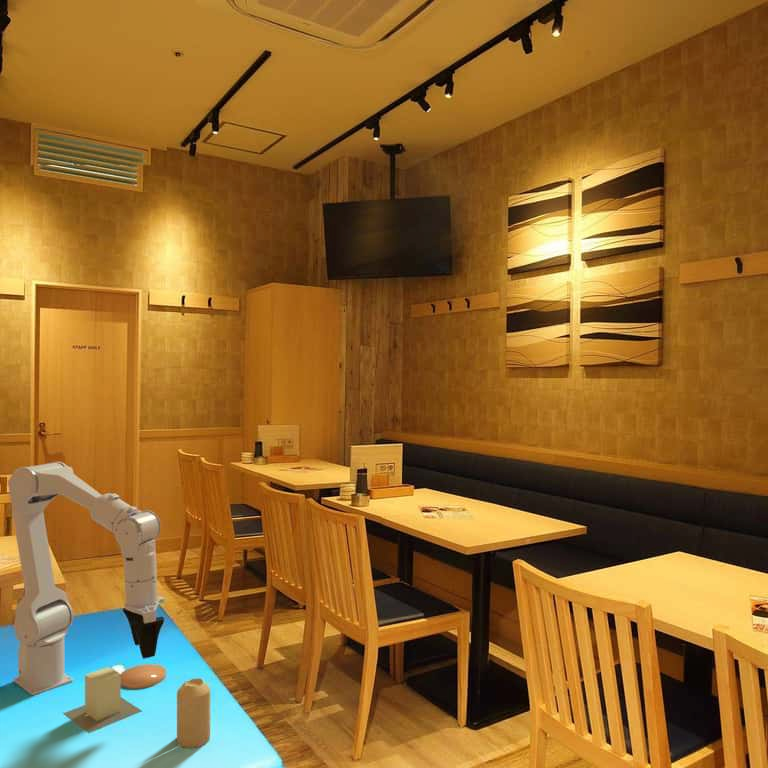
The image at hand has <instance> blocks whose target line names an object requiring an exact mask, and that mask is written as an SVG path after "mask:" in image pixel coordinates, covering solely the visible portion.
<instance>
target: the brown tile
mask: <svg viewBox="0 0 768 768" xmlns="http://www.w3.org/2000/svg"><path fill="white" fill-rule="evenodd" d="M141 712H143V710H142V709H140V708H139V707H137V706H135V704H133V703H131V702H129V701H128V700H126V699H125V698H123V697H122V696H121V711H120V712H118V713H116V714H113V715H111V716H108V717H106V718H103V719H101V720H98V721H96V720H95V719H93V718H92V717H91V716H89V715H88V714H86V713H85V704H84V705H82V706H78V707H76V708H73V709H70V710H68V711H65V712H63V713H62V714H63V715H65V716H66V717H67V718H68V719H70V720H71V721H73V722H74V723H75V724H77V726H79V727H80V728H82V729H83V730H84V731H86V733H88V734H91V733H93V732H95V731H98V730H101V729H102V728H105V727H107V726H110V725H112V724H115V723H117V722H119V721H121V720H124V719H126V718H129V717H131V716H133V715H136V714H139V713H141Z"/></svg>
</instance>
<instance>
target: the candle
mask: <svg viewBox="0 0 768 768" xmlns="http://www.w3.org/2000/svg"><path fill="white" fill-rule="evenodd" d="M210 737H211V687H210V685H209V684H208V683H207V682H205V681H204V680H203V679H202V678H191V679H190V680H185V681H184V682H183V684H182V685H180V687H179V688H178V689H177V691H176V741H177V744H178V745H179V746H180V747H182V748H184V749H185V748H186V749H193V748H198V747H201V746H204V745H205V744H207V743H208V742H209V740H210Z"/></svg>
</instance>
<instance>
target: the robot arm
mask: <svg viewBox="0 0 768 768" xmlns="http://www.w3.org/2000/svg"><path fill="white" fill-rule="evenodd" d="M74 472H75V471H74V469H73V467H71V466H68V465H66V464H65V462H62V461H53V462H49V463H44V464H39V465H38V464H37V465H32V466H31V465H30V466H20V467H18V468H16V469H15V470H14V471H13V473H12V474H11V476H10V477H9V479H8V480H7V485H8V490H9V491H8V492H9V496H10V497H9V498H10V504H11V512H12V517H13V524H14V530H15V536H16V541H17V542H16V543H17V550H18V556H19V561H20V567H21V569H20V570H21V574H22V579H23V587H24V593H25V594H24V595H23V597H22V598H21V600H20V601H19V603H18V604H17V605H16V606H15V608H14V614H15V619H14V623H13V624H14V625H13V630H14V631H13V632H14V635H15V637H16V639H17V640H18V641H19V642H20V643H19V646H18V648H17V659H18V660H17V666H18V667H17V671H18V672H17V674H18V675H17V676H16V677H14V678H13V679H12V680H13V682H14V683H15V684H16V685H17V686H19V687H21V688H22V689H23V690H24V691H26V692H27V693H28V694H29V695H31V696H35V695H39V694H41V693H44V692H47V691H49V690H53V689H55V688H57V687H61V686H64V685H66V684H69V683H72V682H73V681H74V679H73V678H72V677H70V676H69V675H67V674H66V673H65V636H66V635H67V634H68V629H69V628H70V627H71V626H72V624H73V622H74V615H75V614H74V610H73V608H72V605H71V604H70V602H69V600H68V593H67V592H65V591H63V590H62V589H60V588H58V587H56V584H55V576H54V571H53V564H52V558H51V557H52V556H51V551H50V547H49V546H50V544H49V539H48V532H47V527H46V521H45V514H44V510H45V509H46V508H47V506H48V505H49V503H51V501H53V500H54V499H56V498H57V497H58V496H59V495H61V496H63V497H65V498H67V499H68V500H71V501H72V502H74V503H76V504H78V505H80V506H81V507H83V508H86V509H87V510H89V515H90V518H91V520H93V521H94V522H96V523H97V524H99V525H100V526H102V527H104V528H105V529H107V530H108V531H110V532H111V533H113V534H114V538H115V541H116V542H117V544H118V545H119V547H120V554H121V556H122V558H123V573H124V574H123V575H124V593H125V603H124V608H122V611H123V614H125V616H126V618H127V621H128V623H129V627H130V630H131V636H132V640H133V643H134V645H135V646H139V651H140V655H141V657H142V659H143V660H144V659H149V658H152V657H155V656H156V652H157V646H158V640H159V634H160V632H161V628H162V627H163V625H164V622H165V618H164V617H163V616H158V617H156V610H157V608H158V607H159V605H160V603H161V604H162V603H164V602H165V601H166V598H165V597H164V596H163V595H159V592H158V591H159V590H158V571H157V554H156V553H157V552H156V539H157V538H158V537H159V536H160V535H161V532H162V523H161V520H160V518H159V517H158V515H157V514H155V513H154V512H153V511H152V510H144V511H142V510H140V509H138V507H136V506H134V505H133V506H131V505H130V504H129V503H127V502H125V501H123V500H122V499H120V495H118V494H117V493H105V494H101V493H100V492H98V491H97V490H96V489H94V488H93V487H92V486H90V485H89V484H88V483H86V481H84V480H83V479H81V478H80V477H78V476H77V475H76V474H74Z"/></svg>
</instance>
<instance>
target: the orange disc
mask: <svg viewBox="0 0 768 768" xmlns="http://www.w3.org/2000/svg"><path fill="white" fill-rule="evenodd" d="M120 674H121V687H124V688H127V689H132V690H133V689H136V690H137V689H144V688H151V687H153V686H155V685H158V684H160V683H161V682H163V681H164V680H165V679H166V676H167V669H166V668H165V666H162V665H159V664H155V663H154V664H153V663H149V664H148V663H147V664H145V663H144V664H140V665H135V666H131V667H129V668H127V669H125V670H124V671H122V672H121V673H120Z"/></svg>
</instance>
